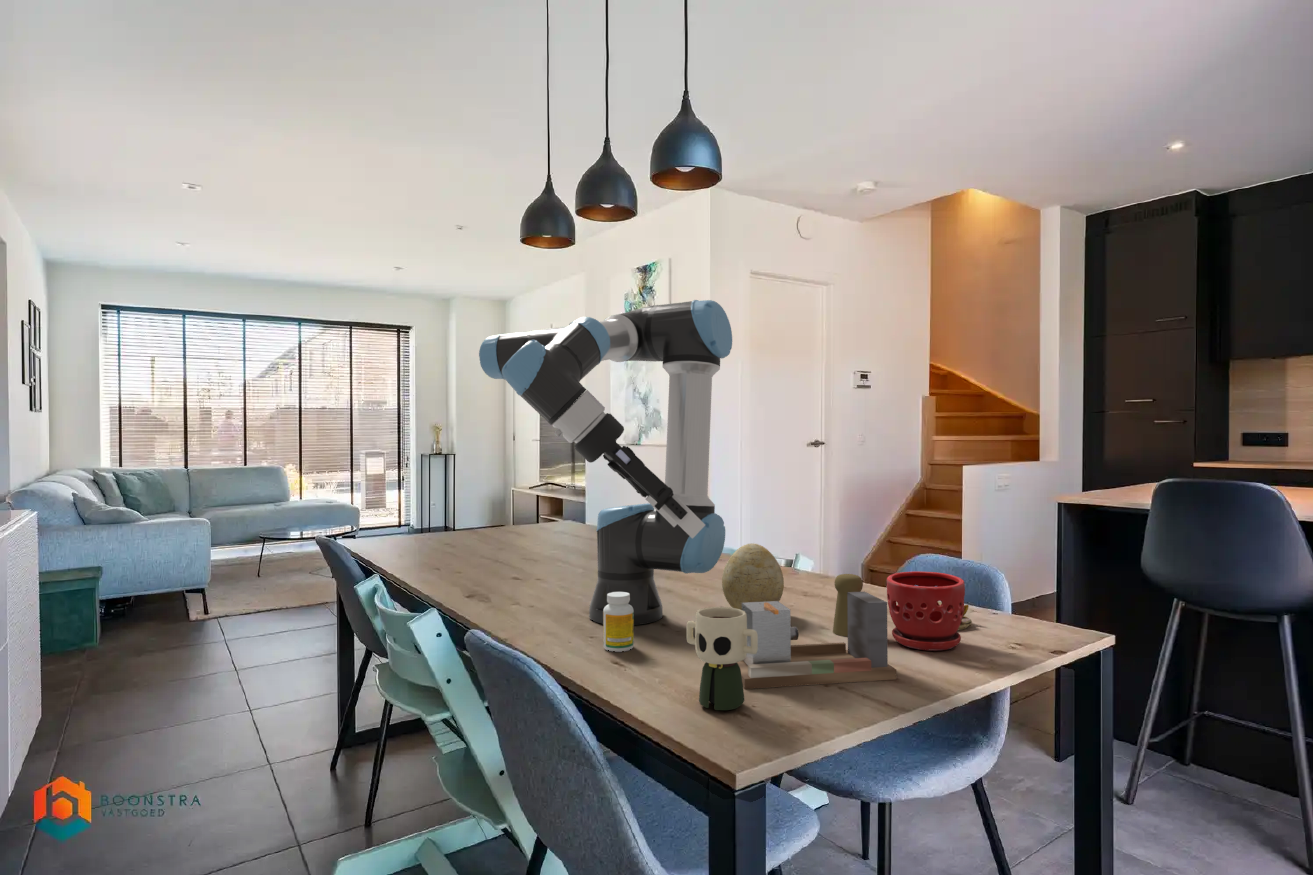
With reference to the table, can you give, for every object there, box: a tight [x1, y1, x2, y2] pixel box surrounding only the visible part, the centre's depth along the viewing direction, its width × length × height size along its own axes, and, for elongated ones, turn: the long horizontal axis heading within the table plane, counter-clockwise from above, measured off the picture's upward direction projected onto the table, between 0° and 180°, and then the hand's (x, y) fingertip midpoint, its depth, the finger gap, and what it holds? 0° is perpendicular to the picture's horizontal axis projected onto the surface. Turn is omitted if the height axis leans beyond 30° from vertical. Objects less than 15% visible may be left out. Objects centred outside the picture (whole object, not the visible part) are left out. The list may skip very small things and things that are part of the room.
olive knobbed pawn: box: [832, 573, 864, 638], centre depth 140 cm, size 6×6×11 cm
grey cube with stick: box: [742, 601, 799, 665], centre depth 115 cm, size 8×8×10 cm
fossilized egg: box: [721, 542, 785, 610], centre depth 154 cm, size 13×13×15 cm
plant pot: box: [886, 570, 966, 652], centre depth 132 cm, size 13×13×12 cm
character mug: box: [686, 606, 758, 711], centre depth 103 cm, size 11×7×13 cm, turn 58°
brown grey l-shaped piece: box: [737, 591, 897, 690], centre depth 117 cm, size 11×24×12 cm, turn 99°
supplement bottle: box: [602, 592, 635, 653], centre depth 131 cm, size 5×5×10 cm
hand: (688, 526), depth 114 cm, fingers open, 13 cm apart
